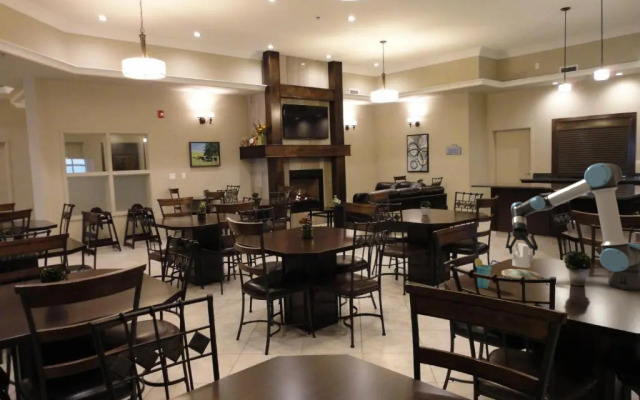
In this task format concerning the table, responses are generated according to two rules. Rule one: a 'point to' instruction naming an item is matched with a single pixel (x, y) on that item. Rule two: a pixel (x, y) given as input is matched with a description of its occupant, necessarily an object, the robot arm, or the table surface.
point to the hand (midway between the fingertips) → (522, 259)
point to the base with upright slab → (521, 256)
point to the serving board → (520, 274)
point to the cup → (483, 272)
